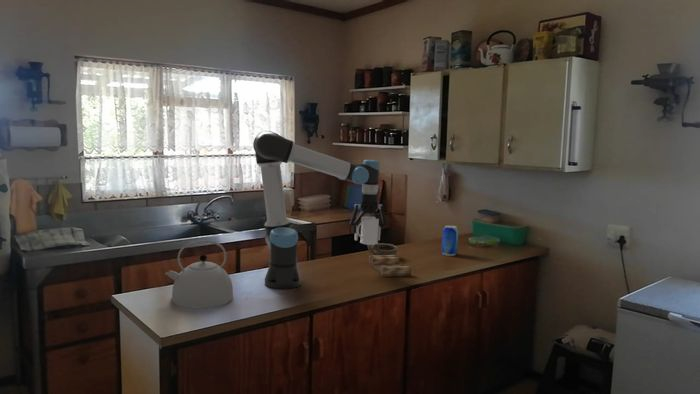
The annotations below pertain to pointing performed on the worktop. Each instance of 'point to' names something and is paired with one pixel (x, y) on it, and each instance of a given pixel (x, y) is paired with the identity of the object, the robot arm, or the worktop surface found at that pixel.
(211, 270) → the kettle
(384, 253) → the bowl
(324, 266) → the worktop surface
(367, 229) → the mug
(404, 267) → the rack
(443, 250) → the beer can
